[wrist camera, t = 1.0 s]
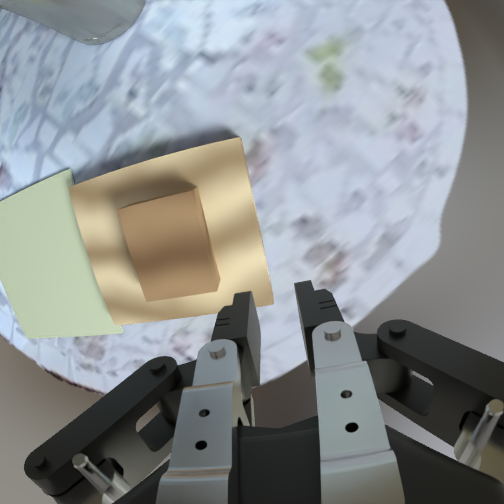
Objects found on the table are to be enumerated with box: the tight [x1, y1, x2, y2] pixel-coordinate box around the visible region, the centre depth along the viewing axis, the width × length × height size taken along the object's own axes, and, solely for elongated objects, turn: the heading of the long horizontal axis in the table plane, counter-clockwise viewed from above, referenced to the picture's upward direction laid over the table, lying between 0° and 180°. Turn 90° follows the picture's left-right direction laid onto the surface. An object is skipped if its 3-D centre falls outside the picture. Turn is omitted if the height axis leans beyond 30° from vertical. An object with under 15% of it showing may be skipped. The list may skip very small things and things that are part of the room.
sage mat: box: [0, 169, 124, 338], centre depth 32 cm, size 20×19×1 cm
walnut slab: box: [117, 187, 221, 302], centre depth 27 cm, size 9×7×2 cm
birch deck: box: [68, 137, 274, 325], centre depth 29 cm, size 16×18×2 cm
